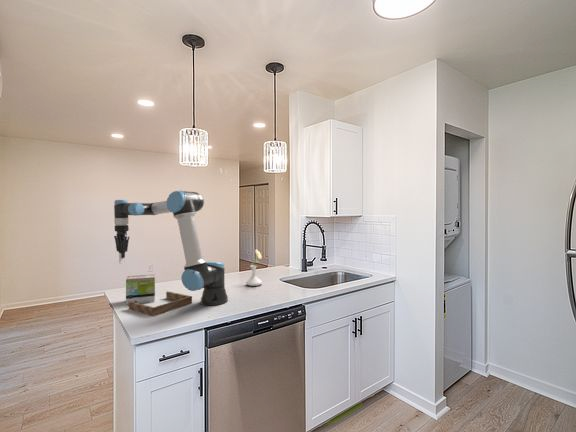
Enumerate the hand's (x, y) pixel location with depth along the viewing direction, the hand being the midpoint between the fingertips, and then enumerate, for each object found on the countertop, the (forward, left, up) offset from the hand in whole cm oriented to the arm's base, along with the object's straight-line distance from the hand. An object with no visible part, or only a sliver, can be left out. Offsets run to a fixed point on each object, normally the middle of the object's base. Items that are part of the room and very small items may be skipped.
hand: (122, 263), depth 184 cm
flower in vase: (-53, -64, -21) cm, 86 cm away
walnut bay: (-38, 0, -21) cm, 43 cm away
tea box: (-19, 0, -21) cm, 29 cm away
